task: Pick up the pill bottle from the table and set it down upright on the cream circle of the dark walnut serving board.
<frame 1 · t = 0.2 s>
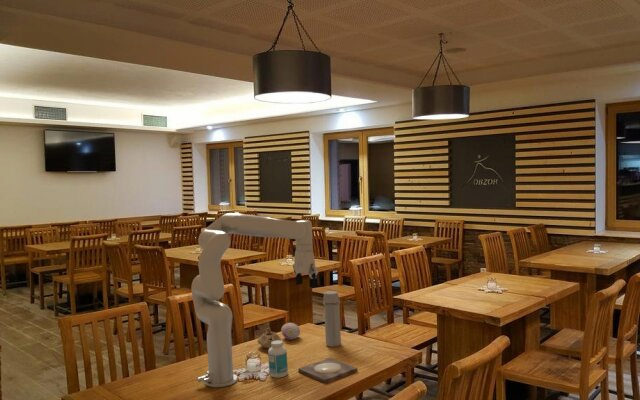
hand: (306, 285, 232), 31 cm above the table, fingers open, 9 cm apart
serving board: (327, 371, 211), on the table
water bottle: (333, 346, 243), on the table
oil lamp: (270, 348, 244), on the table
pill bottle: (278, 375, 210), on the table
decorative item: (290, 338, 257), on the table
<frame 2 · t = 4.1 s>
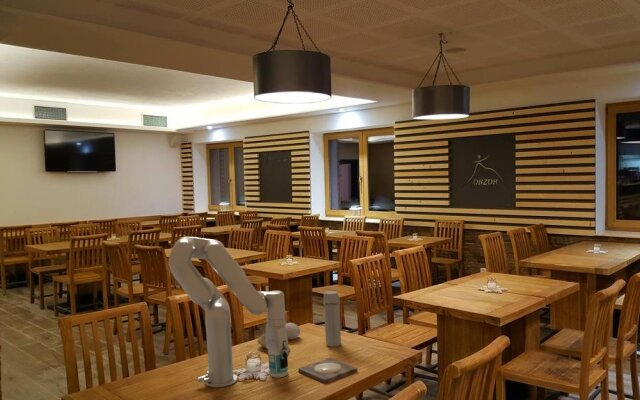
hand: (278, 364, 209), 4 cm above the table, fingers closed on pill bottle, 7 cm apart
pill bottle: (278, 375, 210), on the table, touching gripper
everything else where it was.
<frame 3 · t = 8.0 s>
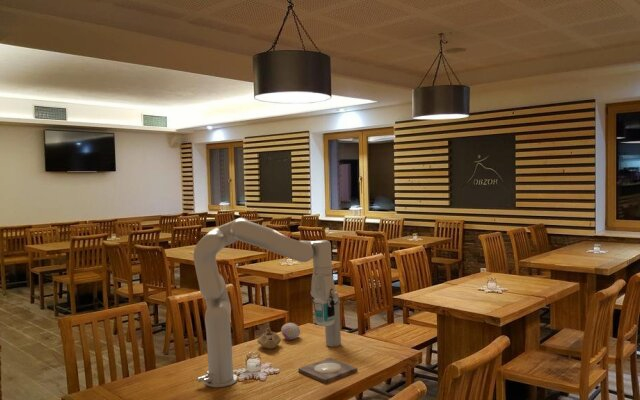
hand: (324, 313, 209), 24 cm above the table, fingers closed on pill bottle, 7 cm apart
pill bottle: (325, 324, 210), point 20 cm above the table, touching gripper
everything else where it was.
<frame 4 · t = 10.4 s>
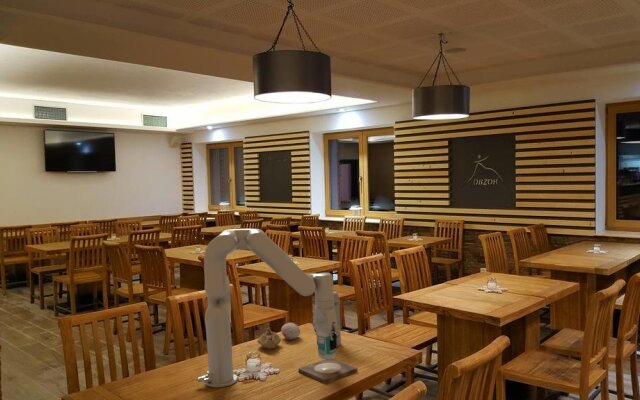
hand: (326, 346, 210), 11 cm above the table, fingers closed on pill bottle, 7 cm apart
pill bottle: (327, 356, 210), point 6 cm above the table, touching gripper
everything else where it was.
when the fingers open (6 cm above the table, at t = 12.3 s): pill bottle stays where it is, resting on serving board.
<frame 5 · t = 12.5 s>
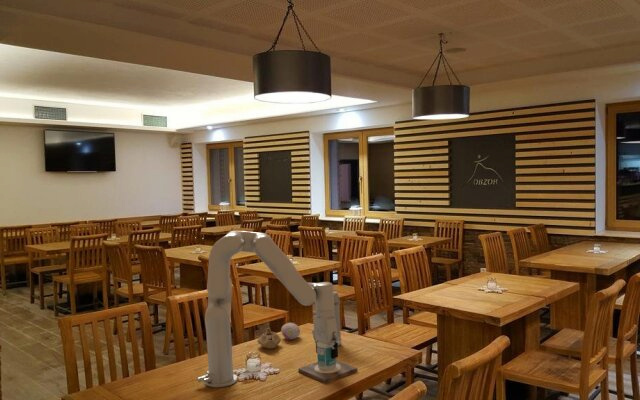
hand: (327, 355, 210), 7 cm above the table, fingers open, 9 cm apart
pill bottle: (327, 368, 210), point 2 cm above the table, touching serving board
everything else where it was.
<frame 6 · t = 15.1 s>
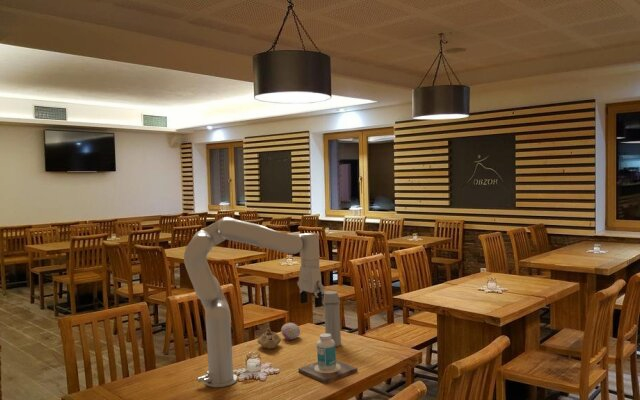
hand: (311, 304, 212), 27 cm above the table, fingers open, 9 cm apart
nothing on the table moved.
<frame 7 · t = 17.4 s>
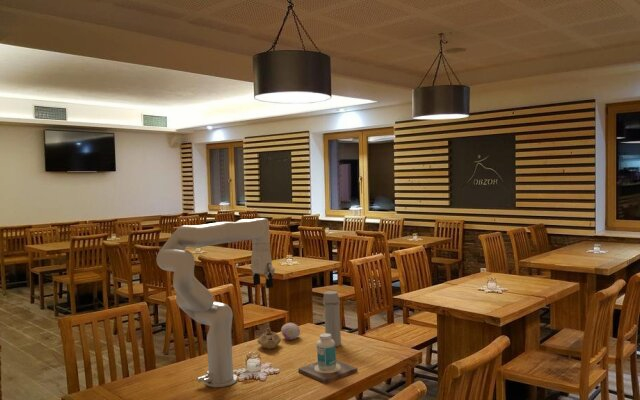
hand: (263, 286, 224), 33 cm above the table, fingers open, 9 cm apart
nothing on the table moved.
at the end: pill bottle inside the target area on the serving board (0.3 cm from its centre), point 1.5 cm above the serving board's base; pill bottle tilted 0°; the gripper is holding nothing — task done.
